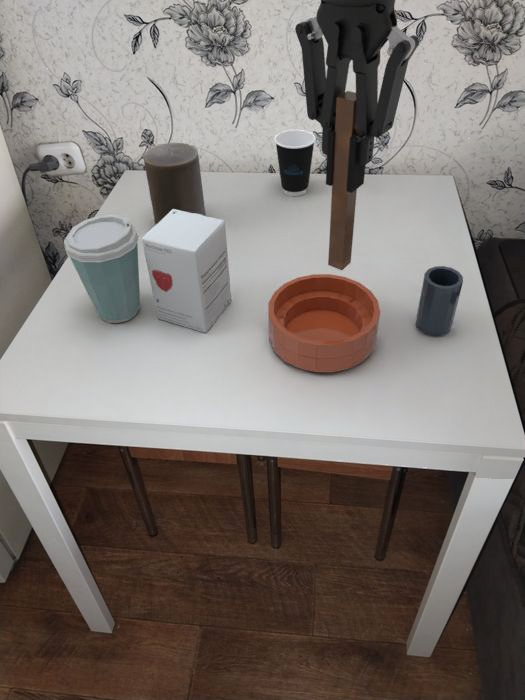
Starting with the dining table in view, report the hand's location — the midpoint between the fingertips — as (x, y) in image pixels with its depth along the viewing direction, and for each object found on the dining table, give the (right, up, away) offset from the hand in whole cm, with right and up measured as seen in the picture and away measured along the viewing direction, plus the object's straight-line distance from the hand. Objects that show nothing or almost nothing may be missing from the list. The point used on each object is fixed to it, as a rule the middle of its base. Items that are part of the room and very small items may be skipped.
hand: (344, 183), depth 71 cm
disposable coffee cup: (-33, -14, +23) cm, 43 cm away
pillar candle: (-25, +4, +42) cm, 49 cm away
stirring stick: (0, -8, +8) cm, 12 cm away
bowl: (-1, -18, +17) cm, 25 cm away
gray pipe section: (+16, -16, +18) cm, 29 cm away
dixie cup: (-3, +12, +49) cm, 51 cm away
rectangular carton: (-20, -14, +23) cm, 34 cm away
